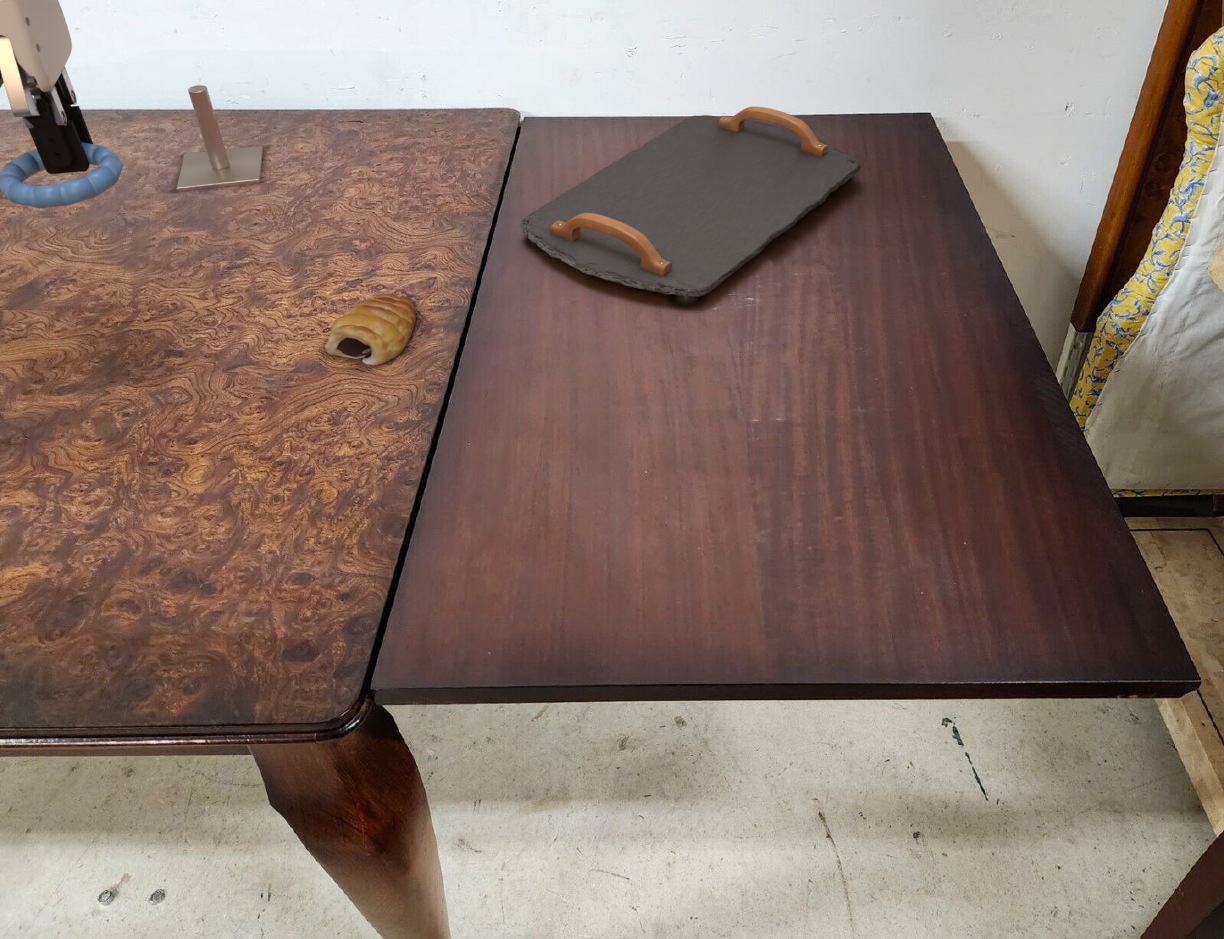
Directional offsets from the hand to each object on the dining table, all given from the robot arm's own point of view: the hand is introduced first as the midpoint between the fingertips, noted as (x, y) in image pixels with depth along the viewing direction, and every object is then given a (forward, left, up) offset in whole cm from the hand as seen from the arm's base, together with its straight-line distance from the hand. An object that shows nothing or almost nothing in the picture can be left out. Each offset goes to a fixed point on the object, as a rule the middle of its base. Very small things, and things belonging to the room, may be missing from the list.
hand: (71, 161), depth 79 cm
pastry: (+21, -7, -17) cm, 28 cm away
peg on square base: (+5, +31, -17) cm, 36 cm away
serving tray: (+56, +9, -17) cm, 59 cm away
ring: (0, -3, +1) cm, 3 cm away
